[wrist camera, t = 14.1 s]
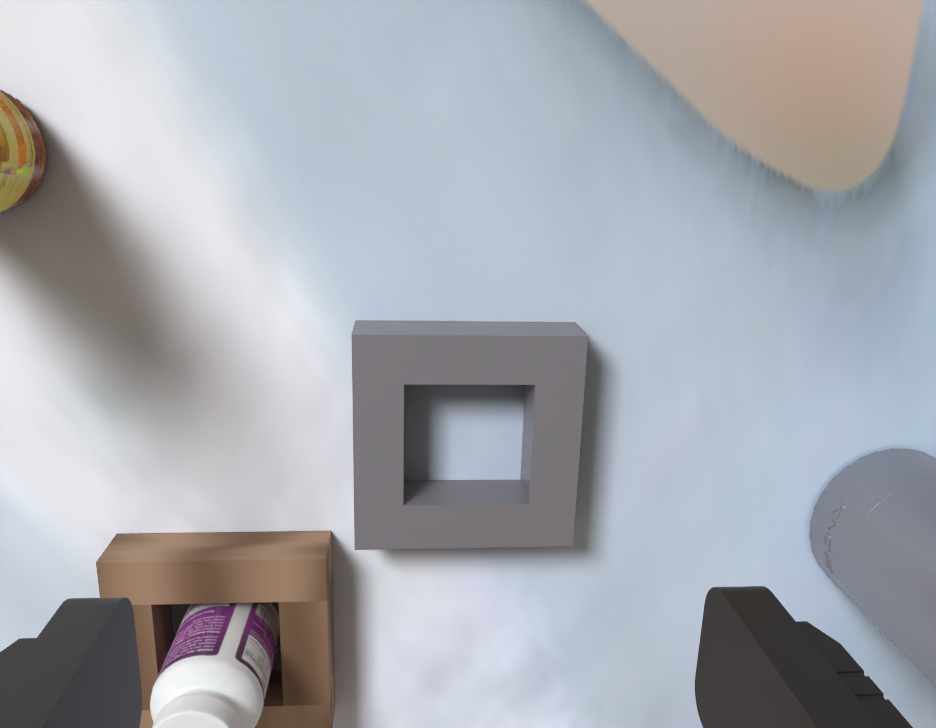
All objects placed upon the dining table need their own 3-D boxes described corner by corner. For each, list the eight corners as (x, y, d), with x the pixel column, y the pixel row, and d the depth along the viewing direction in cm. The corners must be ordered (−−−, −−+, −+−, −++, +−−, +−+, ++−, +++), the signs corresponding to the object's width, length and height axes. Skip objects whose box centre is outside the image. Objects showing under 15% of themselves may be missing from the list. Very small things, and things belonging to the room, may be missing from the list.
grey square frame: (575, 322, 41) (588, 336, 38) (562, 519, 44) (573, 546, 41) (355, 320, 40) (351, 334, 37) (358, 522, 43) (354, 549, 40)
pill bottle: (176, 650, 45) (117, 784, 35) (197, 570, 43) (142, 688, 34) (269, 670, 46) (236, 806, 36) (293, 593, 44) (264, 713, 35)
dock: (330, 530, 43) (325, 558, 40) (334, 704, 46) (330, 741, 44) (116, 533, 42) (96, 562, 39) (135, 710, 46) (118, 749, 43)
